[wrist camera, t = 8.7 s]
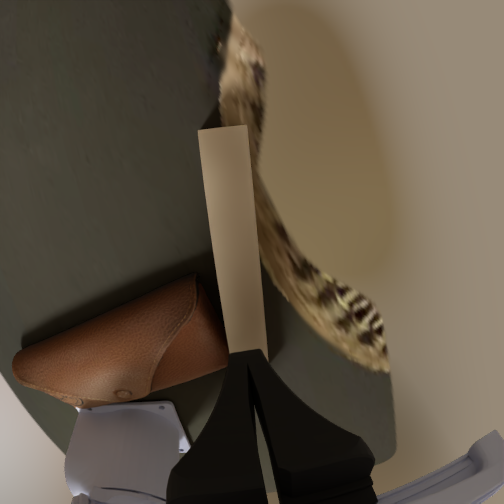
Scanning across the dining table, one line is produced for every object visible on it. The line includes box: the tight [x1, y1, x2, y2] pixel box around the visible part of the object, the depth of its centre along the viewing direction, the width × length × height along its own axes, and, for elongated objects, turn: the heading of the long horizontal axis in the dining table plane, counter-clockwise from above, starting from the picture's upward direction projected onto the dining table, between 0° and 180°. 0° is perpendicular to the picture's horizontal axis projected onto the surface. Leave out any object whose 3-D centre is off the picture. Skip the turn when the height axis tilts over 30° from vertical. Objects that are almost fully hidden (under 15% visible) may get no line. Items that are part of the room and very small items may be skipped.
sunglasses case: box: [12, 272, 230, 409], centre depth 21 cm, size 18×7×7 cm, turn 113°
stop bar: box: [198, 125, 268, 361], centre depth 19 cm, size 2×18×3 cm, turn 5°
